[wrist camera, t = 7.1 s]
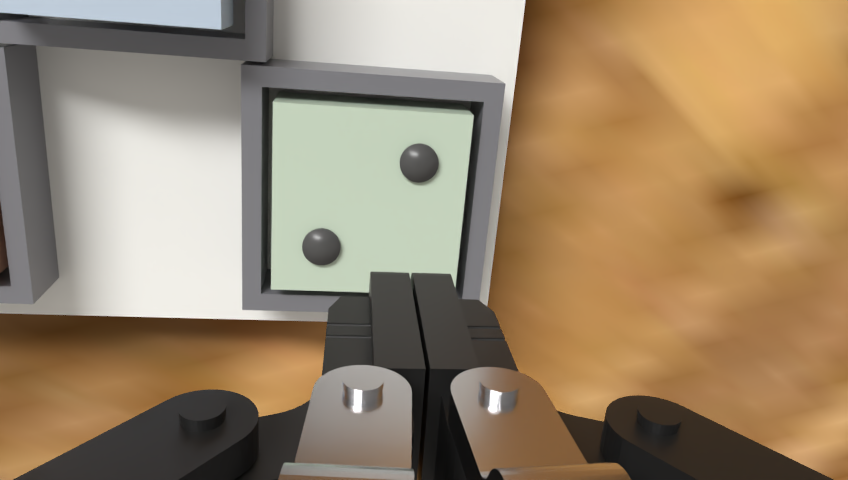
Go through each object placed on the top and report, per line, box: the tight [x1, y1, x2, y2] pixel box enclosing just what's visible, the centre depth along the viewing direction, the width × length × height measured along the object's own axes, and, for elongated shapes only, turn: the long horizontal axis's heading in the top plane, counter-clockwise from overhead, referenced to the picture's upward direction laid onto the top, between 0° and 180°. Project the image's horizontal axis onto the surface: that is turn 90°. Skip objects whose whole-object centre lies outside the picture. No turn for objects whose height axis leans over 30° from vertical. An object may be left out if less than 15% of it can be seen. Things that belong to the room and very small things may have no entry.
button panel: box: [0, 0, 526, 322], centre depth 19 cm, size 20×15×4 cm
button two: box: [271, 91, 474, 292], centre depth 19 cm, size 5×5×2 cm
